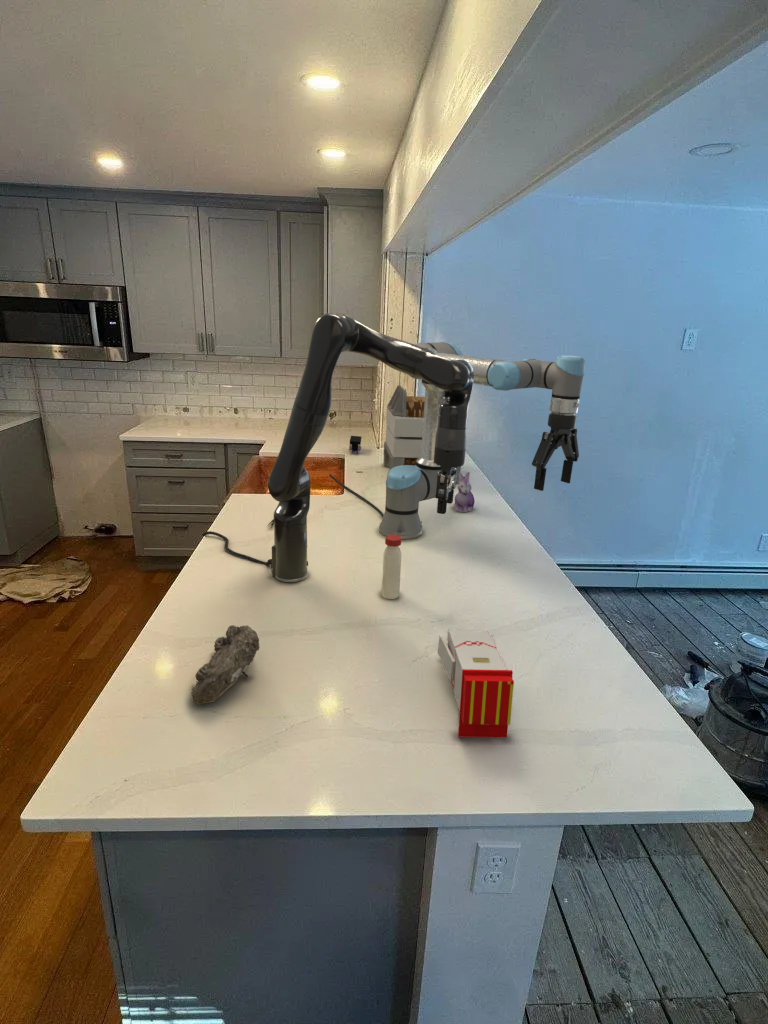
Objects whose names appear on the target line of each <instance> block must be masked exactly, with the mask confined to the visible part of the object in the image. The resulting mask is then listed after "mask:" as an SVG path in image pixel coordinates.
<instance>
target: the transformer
mask: <svg viewBox="0 0 768 1024" xmlns="http://www.w3.org/2000/svg"><path fill="white" fill-rule="evenodd" d="M407 394H408V393H407V390H406V389H404V388H403V387H402V385H399V384H398V385H397V386H396V388H395V390H394V392H393V394H392V395H391V398H390V400H389V402H388V404H387V405H386V413H385V414H386V415H385V423H386V428H385V438H384V442H383V466H384V467H388V468H389V470H390V469H392V468H394V467H396V466H401V465H404V466H405V465H413V466H416V461H417V459H418V458H420V457H421V449H422V434H423V419H424V404H425V396H415V395H414V396H413V395H412V396H411V395H407ZM459 473H462V466H461V467H458V472H457V484H459Z"/></svg>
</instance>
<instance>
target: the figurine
mask: <svg viewBox="0 0 768 1024" xmlns="http://www.w3.org/2000/svg"><path fill="white" fill-rule="evenodd" d="M470 477H471V472H470V471H468V472H466V474H465V476H464V475H463V473H462V472H461V473H459V483H457V491H458V492H457V493H456V494H455V495H454V504H453V509H454V510H455V511H457V512H460V513H467V512H471V511H473V509H474V506H475V502H476V501H475V496H474V494H473V492H472V491H471V490H472V484H471V482H470Z"/></svg>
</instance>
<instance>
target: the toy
mask: <svg viewBox="0 0 768 1024" xmlns="http://www.w3.org/2000/svg"><path fill="white" fill-rule="evenodd" d="M446 640H447V643H446V641H445V639H444V636H443V635H442V634H439V637H438V646H437V656H438V657H439V659H440V661H441V663H442V666H443V668H444V670H445V672H446V674H447V677H448V679H449V681H450V684H451V687H452V690H453V693H454V697H455V701H456V705H457V708H458V711H459V714H458V715H459V716H458V730H457V731H458V732H457V737H458V738H508V731H509V726H510V725H511V717H512V707H513V697H514V696H513V695H514V684H515V680H514V679H513V673H514V671H513V670H512V669H508V667H507V665H506V662H505V661H504V659H503V658H502V655H501V653H500V651H499V649H498V647H497V643H496V639H495V637H494V635H493V634H491V632H490V631H489V629H467V628H466V629H465V628H463V629H461V628H460V629H459V628H448V630H447V639H446Z"/></svg>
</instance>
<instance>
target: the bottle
mask: <svg viewBox="0 0 768 1024" xmlns="http://www.w3.org/2000/svg"><path fill="white" fill-rule="evenodd" d="M402 556H403V555H402V551H401V549H400V546H396V547H392V546H388V545H386V547H385V549H384V551H383V557H382V577H381V578H382V579H381V596H382V597H383V598H384V599H388V600H395V599H397V598H399V597H400V588H401V574H402V573H401V572H402V571H401V570H402Z"/></svg>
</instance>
